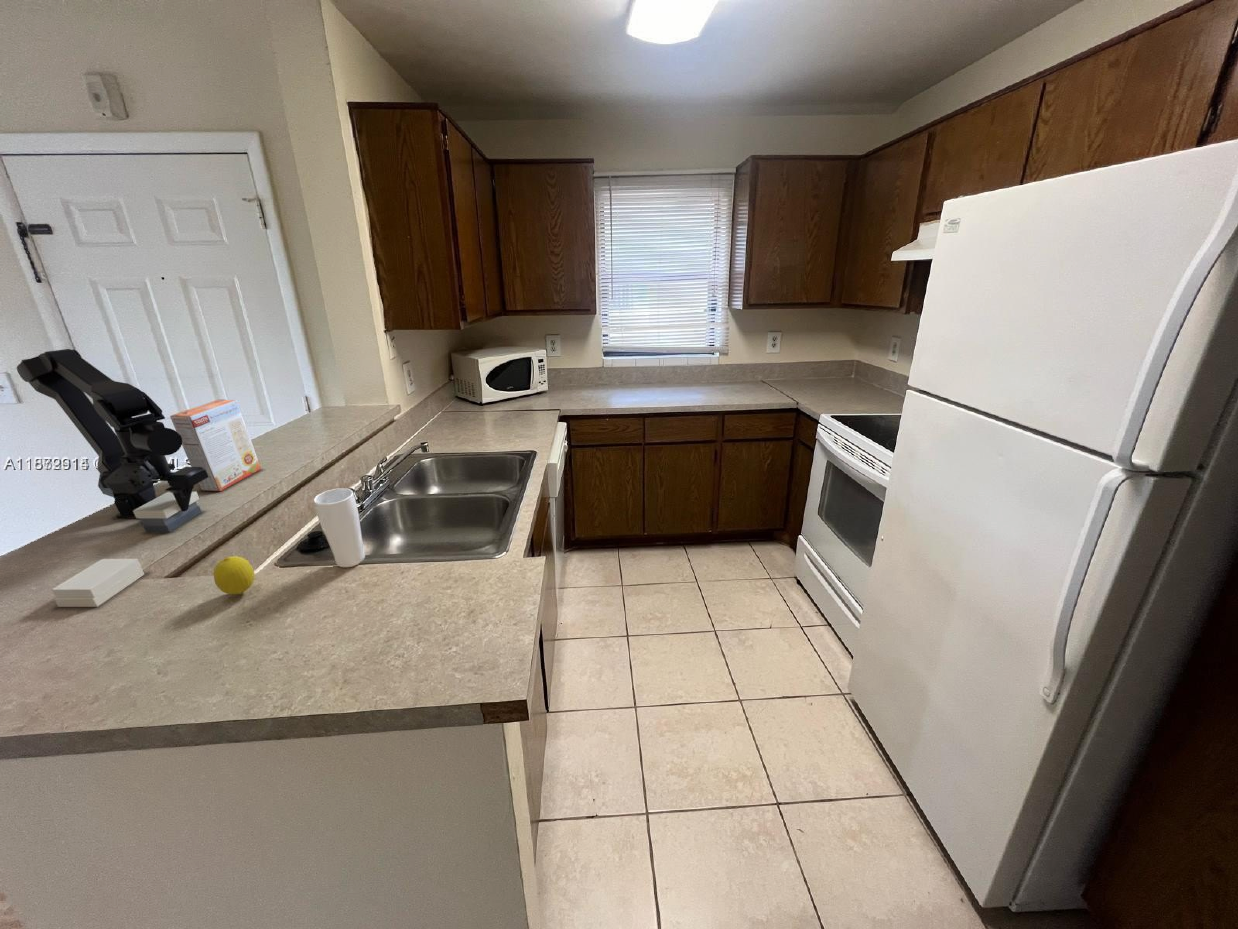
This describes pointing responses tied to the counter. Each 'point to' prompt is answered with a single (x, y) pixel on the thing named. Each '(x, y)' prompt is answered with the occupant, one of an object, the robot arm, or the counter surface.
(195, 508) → the grey books
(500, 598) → the counter surface
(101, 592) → the ivory books
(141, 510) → the ivory book
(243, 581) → the lemon
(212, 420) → the cracker box
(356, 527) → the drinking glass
